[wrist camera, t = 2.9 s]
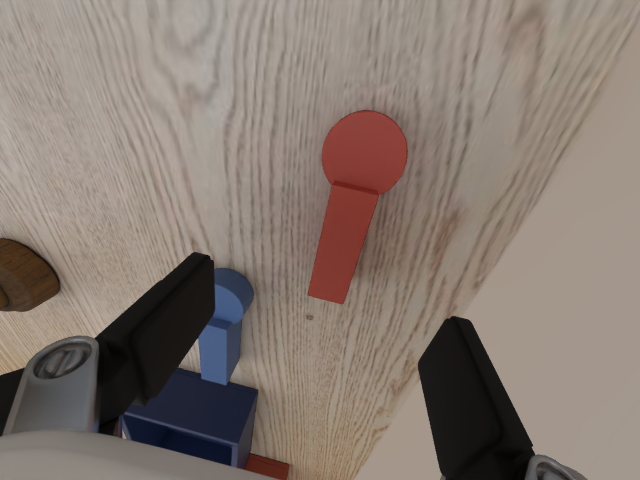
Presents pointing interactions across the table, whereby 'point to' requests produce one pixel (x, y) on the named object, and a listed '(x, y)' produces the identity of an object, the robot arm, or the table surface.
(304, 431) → the table surface
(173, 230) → the table surface
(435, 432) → the robot arm
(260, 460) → the red bin
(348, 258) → the red spoon
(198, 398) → the blue bin
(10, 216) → the table surface
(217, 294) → the blue spoon
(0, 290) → the mortar and pestle
